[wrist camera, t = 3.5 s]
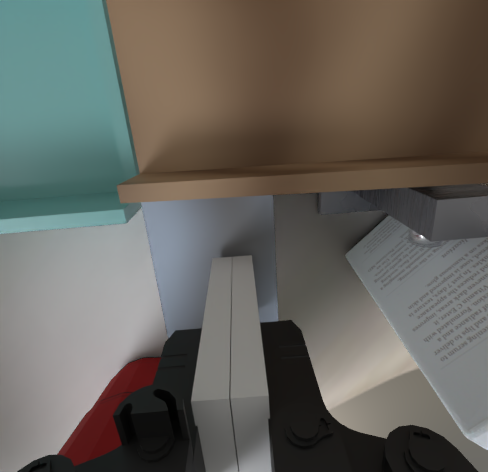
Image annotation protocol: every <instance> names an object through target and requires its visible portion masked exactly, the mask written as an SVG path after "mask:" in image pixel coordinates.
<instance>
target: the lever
mask: <svg viewBox="0 0 488 472" xmlns="http://www.w3.org/2000/svg"><path fill="white" fill-rule="evenodd" d="M106 3H107V8H108V13H109V18H110V24H111V29H112V34H113V39H114V44H115V49H116V54H117V59H118V65H119V70H120V75H121V80H122V85H123V90H124V95H125V101H126V106H127V111H128V116H129V121H130V126H131V131H132V136H133V142H134V147H135V152H136V157H137V162H138V167H139V172H140V174H138V175H136V176H134V177H132V178H130V179H128V180H126V181H124V182H122V183H120V184H118V185H116V186H117V190H118V195H119V199H120V203H138V202H141V205H142V210H143V215H144V220H145V225H146V230H147V235H148V240H149V245H150V250H151V255H152V260H153V265H154V270H155V275H156V280H157V285H158V290H159V295H160V300H161V305H162V310H163V315H164V320H165V325H166V330H167V335H168V339H169V337H170V336H171V335H172V334H173V333H174V332H175V330H187V329H199V328H202V325H203V319H204V312H205V306H206V299H207V293H208V286H209V279H210V273H211V266H212V260H213V258H222V257H235V256H248V255H252V262H253V270H254V279H255V287H256V295H257V303H258V312H259V320H260V323H262V322H274V321H278V300H277V276H276V252H275V227H274V203H273V195H282V194H300V193H318V192H336V191H354V190H372V189H390V188H408V187H426V186H444V185H462V184H480V183H488V0H106Z"/></svg>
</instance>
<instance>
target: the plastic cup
mask: <svg viewBox="0 0 488 472" xmlns="http://www.w3.org/2000/svg"><path fill="white" fill-rule="evenodd" d="M160 359H161V357H157V358H142V359H139V360H136V361H134V362H131V363H128V364H127V365H126V366H125V367H124V368H123V369H122V370H121V371H119V372H118V373H117V375H116V376H115V377H114V378H113V379H112V380H111V381H110V382H109V384H108V385H107V387H106V388H105V390H104V391H103V393H102V394H101V396H100V397H99V399H98V400H97V402H96V403H95V405H94V406H93V408H92V409H91V410H90V411H89V412H88V413H87V414H86V415H85V416H84V418H83V419H82V420H81V422H80V423H79V425H78V426H77V427H76V429H75V430H74V432H73V433H72V434H71V436H70V437H69V439H68V440H67V441H66V443H65V444H64V446H63V447H62V448H61V450H60V451H59V453H58V454H57V455H63V456H65V457H67V458H69V459H71V460H72V463H73V465H74V466H76V465H79V464H81V463H84V462H86V461H89V460H91V459H94V458H97V457H99V456H102V455H104V454H106V453H108V452H110V451H112V450H114V449H116V448H117V447H119V446H120V445H122V443H121V440H120V437H119V434H118V431H117V428H116V425H115V421H114V418H113V414H114V412H115V411H116V409H117V407H118V406H119V404H120V403H121V402H122V401H123V400H124V399H125V398H126V397H127V396H129V395H130V394H131V393H133V392H135V391H136V390H138V389H140V388H142V387H145V386H149V385H153V382H154V378H155V375H156V372H157V371H158V365H159V362H160Z"/></svg>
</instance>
